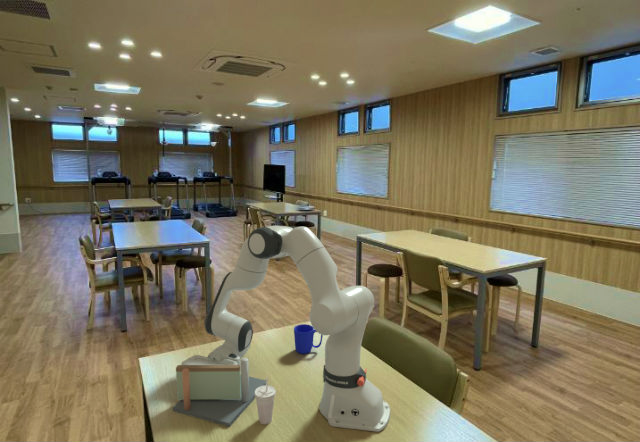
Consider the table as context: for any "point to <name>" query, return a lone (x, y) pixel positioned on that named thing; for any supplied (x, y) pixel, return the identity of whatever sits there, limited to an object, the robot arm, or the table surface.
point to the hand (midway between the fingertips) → (194, 381)
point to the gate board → (219, 400)
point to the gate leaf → (210, 381)
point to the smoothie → (265, 402)
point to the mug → (304, 338)
